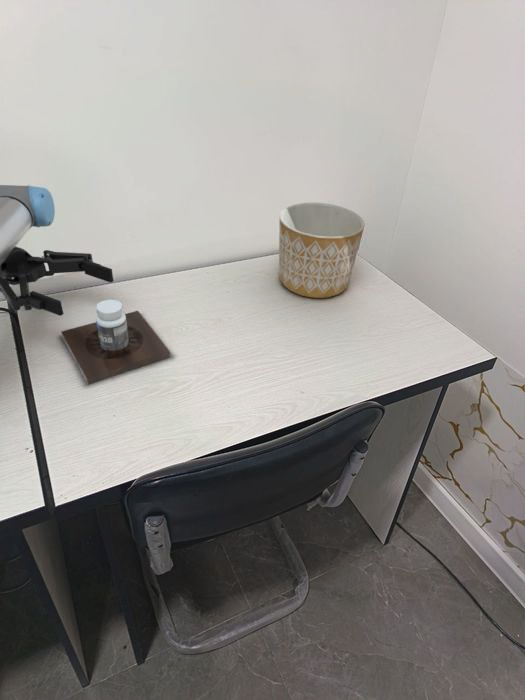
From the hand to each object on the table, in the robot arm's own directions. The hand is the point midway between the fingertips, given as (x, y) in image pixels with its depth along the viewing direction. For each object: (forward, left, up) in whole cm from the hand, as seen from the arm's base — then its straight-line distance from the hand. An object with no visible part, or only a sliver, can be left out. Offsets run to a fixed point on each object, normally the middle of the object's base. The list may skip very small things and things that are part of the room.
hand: (87, 291), depth 92 cm
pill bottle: (+2, -4, -12) cm, 13 cm away
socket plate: (+2, -4, -11) cm, 12 cm away
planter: (+53, -2, -12) cm, 55 cm away
